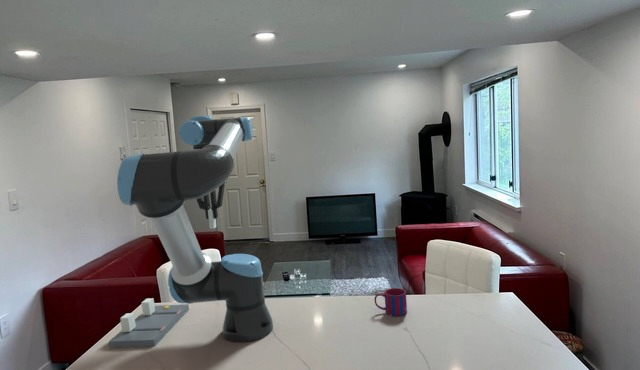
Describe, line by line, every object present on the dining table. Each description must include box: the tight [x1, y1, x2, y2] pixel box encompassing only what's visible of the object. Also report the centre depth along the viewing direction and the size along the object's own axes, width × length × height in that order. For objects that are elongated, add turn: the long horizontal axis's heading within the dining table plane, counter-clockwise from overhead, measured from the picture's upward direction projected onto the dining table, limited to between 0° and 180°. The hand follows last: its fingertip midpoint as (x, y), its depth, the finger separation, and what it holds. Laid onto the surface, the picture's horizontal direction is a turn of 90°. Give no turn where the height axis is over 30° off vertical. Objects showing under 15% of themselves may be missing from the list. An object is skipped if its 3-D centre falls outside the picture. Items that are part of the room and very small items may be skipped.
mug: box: [374, 287, 408, 318], centre depth 134 cm, size 7×10×7 cm
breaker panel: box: [108, 303, 190, 349], centre depth 137 cm, size 26×14×2 cm, turn 175°
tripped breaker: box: [141, 297, 156, 315], centre depth 143 cm, size 4×2×4 cm
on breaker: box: [120, 312, 136, 332], centre depth 131 cm, size 4×2×4 cm
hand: (213, 227), depth 149 cm, fingers closed
